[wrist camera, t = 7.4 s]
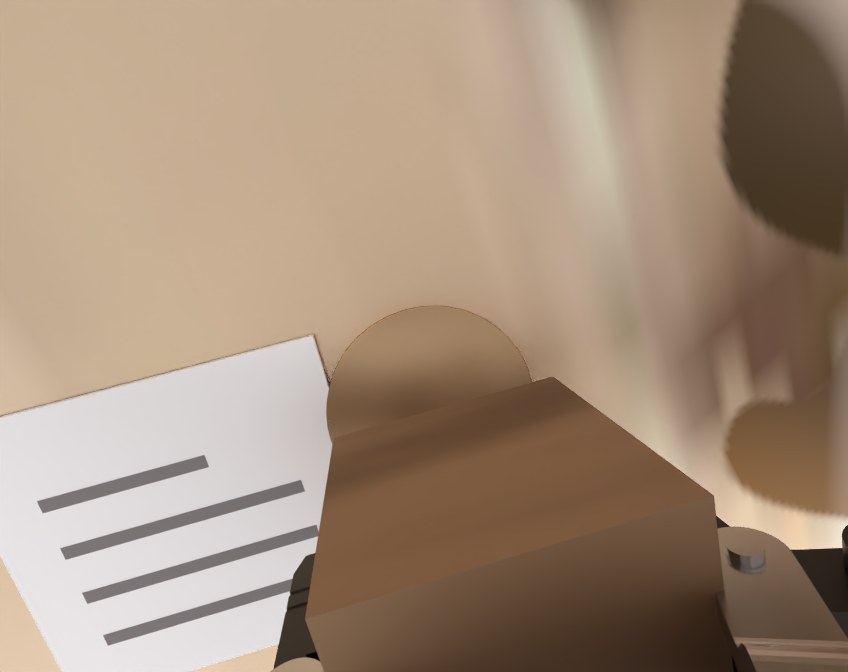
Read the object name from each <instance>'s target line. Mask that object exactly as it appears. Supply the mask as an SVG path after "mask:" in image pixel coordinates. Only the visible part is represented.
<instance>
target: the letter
mask: <svg viewBox="0 0 848 672" xmlns="http://www.w3.org/2000/svg"><path fill="white" fill-rule="evenodd" d="M328 391H329V383H328V380H327V377H326V374H325V370H324V367H323V364H322V361H321V357H320V354H319V351H318V348H317V344H316V341H315V338H314V335H313V334H311V335H308V336H304V337H300V338H296V339H292V340H289V341H285V342H281V343H277V344H273V345H270V346H266V347H262V348H258V349H254V350H251V351H247V352H243V353H239V354H236V355H232V356H228V357H224V358H220V359H217V360H213V361H209V362H205V363H201V364H198V365H194V366H190V367H186V368H182V369H179V370H175V371H171V372H167V373H163V374H160V375H156V376H152V377H148V378H144V379H141V380H137V381H133V382H129V383H125V384H122V385H118V386H114V387H110V388H106V389H103V390H99V391H95V392H91V393H87V394H84V395H80V396H76V397H72V398H68V399H65V400H61V401H57V402H53V403H49V404H46V405H42V406H38V407H34V408H30V409H27V410H23V411H19V412H15V413H11V414H8V415H4V416H0V556H1V558H2V560H3V562H4V564H5V566H6V568H7V570H8V572H9V573H10V575H11V577H12V579H13V581H14V583H15V585H16V587H17V589H18V590H19V592H20V594H21V596H22V598H23V600H24V602H25V604H26V605H27V607H28V609H29V611H30V613H31V615H32V617H33V619H34V621H35V622H36V624H37V626H38V628H39V630H40V632H41V634H42V636H43V638H44V639H45V641H46V643H47V645H48V647H49V649H50V651H51V653H52V655H53V656H54V658H55V660H56V662H57V664H58V666H59V668H60V670H61V671H62V672H190V671H194V670H197V669H200V668H203V667H207V666H210V665H213V664H216V663H220V662H223V661H226V660H229V659H233V658H236V657H239V656H242V655H246V654H249V653H252V652H255V651H259V650H262V649H265V648H268V647H272V646H275V645H278V644H279V641H280V636H281V631H282V627H283V622H284V617H285V612H287V603H288V598H289V596H290V589H291V584H292V579H293V575H294V573H295V571H296V570H297V568H298V567H299V565H300V564H301V562H302V561H303V559H304V558H305V556H307V555H310V554H313V553H316V546H317V540H318V533H319V527H320V521H321V514H322V508H323V502H324V495H325V489H326V483H327V476H328V470H329V464H330V457H331V451H332V443H333V442H331V440H330V436H329V432H328V427H327V418H326V406H327V396H328ZM327 408H328V407H327ZM328 424H329V423H328ZM329 426H330V425H329Z"/></svg>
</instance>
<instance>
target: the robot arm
mask: <svg viewBox="0 0 848 672" xmlns="http://www.w3.org/2000/svg"><path fill="white" fill-rule="evenodd" d="M716 520H717V529H718V538H719V547H720V556H721V565H722V574H723V582H724V590H723V591H719V592H716V602H717V610H718V619H719V622H720V624H721V627H722V630H723V632H724V635H725V638H726V640H727V643H728V646H729V649H730V651H731V654H732V662H733V671H734V672H848V525H847V526H846V527H845V528H844V530H843V533H842V546H843V548H831V549H809V550H790V549H789V548H788V547H787V546H786V545H785V544H784V543H783V542H781V541H780V540H778V539H777V538H775V537H773V536H771V535H769V534H767V533H764V532H762V531H758V530H755V529H750V528H744V527H730V526H728V525H727V524H726V523H725V522H723V521H722V520H721V519H720V518H718V517H717V516H716ZM314 559H315V553H313V554H310V555H307V556H305V558H304V559H303V561H302V562H301V564H300V565H299V567H298V568H297V570H296V571H295V573H294V575H293V579H292V584H291V589H290V596H289V598H288V603H287V612H285V617H284V622H283V627H282V631H281V636H280V641H279V646H278V650H277V655H276V660H275V664H274V669H273V670H272V671H271V672H324V670H323V668H322V665H321V662H320V659H319V657H318V654H317V651H316V648H315V645H314V643H313V640H312V637H311V634H310V632H309V629H308V626H307V623H306V621H305V616H306V610H307V603H308V597H309V591H310V584H311V578H312V572H313V565H314Z"/></svg>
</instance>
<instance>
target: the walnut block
mask: <svg viewBox="0 0 848 672" xmlns="http://www.w3.org/2000/svg"><path fill="white" fill-rule="evenodd" d="M723 590H724V582H723V574H722V565H721V556H720V547H719V538H718V529H717V520H716V511H715V503H714V495H712V494H711V493H710V492H708V491H707V490H705V489H704V488H703V487H701V486H700V485H699V484H697V483H696V482H695V481H693V480H692V479H691V478H689V477H688V476H687V475H685V474H684V473H682V472H681V471H680V470H678V469H677V468H676V467H674V466H673V465H672V464H670V463H669V462H668V461H666V460H665V459H664V458H662V457H661V456H659V455H658V454H657V453H655V452H654V451H653V450H651V449H650V448H649V447H647V446H646V445H645V444H643V443H642V442H641V441H639V440H638V439H636V438H635V437H634V436H632V435H631V434H630V433H628V432H627V431H626V430H624V429H623V428H622V427H620V426H619V425H617V424H616V423H615V422H613V421H612V420H611V419H609V418H608V417H607V416H605V415H604V414H603V413H601V412H600V411H599V410H597V409H596V408H594V407H593V406H592V405H590V404H589V403H588V402H586V401H585V400H584V399H582V398H581V397H580V396H578V395H577V394H576V393H574V392H573V391H571V390H570V389H569V388H567V387H566V386H565V385H563V384H562V383H561V382H559V381H558V380H557V379H555V378H554V377H550V378H547V379H543V380H540V381H536V382H532V383H529V384H525V385H522V386H518V387H514V388H511V389H507V390H504V391H500V392H496V393H493V394H489V395H486V396H482V397H478V398H475V399H471V400H467V401H464V402H460V403H457V404H453V405H449V406H446V407H442V408H439V409H435V410H431V411H428V412H424V413H421V414H417V415H413V416H410V417H406V418H403V419H399V420H395V421H392V422H388V423H385V424H381V425H377V426H374V427H370V428H367V429H363V430H359V431H356V432H352V433H349V434H345V435H341V436H338V437H334V438H333V444H332V451H331V457H330V464H329V470H328V476H327V483H326V489H325V495H324V502H323V508H322V514H321V521H320V527H319V533H318V540H317V546H316V553H315V559H314V565H313V572H312V578H311V584H310V591H309V597H308V603H307V610H306V616H305V621H306V623H307V626H308V629H309V632H310V634H311V637H312V640H313V643H314V645H315V648H316V651H317V654H318V657H319V659H320V662H321V665H322V668H323V670H324V672H734V671H733V662H732V654H731V651H730V649H729V646H728V643H727V640H726V638H725V635H724V632H723V630H722V627H721V624H720V622H719V619H718V610H717V602H716V592H719V591H723Z"/></svg>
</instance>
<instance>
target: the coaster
mask: <svg viewBox="0 0 848 672" xmlns="http://www.w3.org/2000/svg"><path fill="white" fill-rule="evenodd" d="M529 383H532V381H531V377H530V374H529V370H528V368H527V366H526V363H525V361H524V359H523V357H522V355H521V354H520V352H519V350H518V349H517V347H516V346H515V345H514V344H513V343H512V341H511V340H510V339H509V338H508V337H507V336H506V335H505V334H504V333H503V332H502V331H501V330H500V329H498V328H497V327H495V326H494V325H493V324H491V323H490V322H488V321H487V320H485V319H483V318H481V317H479V316H477V315H475V314H473V313H470V312H467V311H464V310H461V309H456V308H451V307H443V306H425V307H417V308H412V309H406V310H403V311H400V312H397V313H394V314H392V315H390V316H388V317H386V318H384V319H382V320H380V321H378V322H377V323H375V324H374V325H372V326H371V327H369V328H368V329H367V330H365V331H364V332H363V333H362V334H361V335H360V336H358V337H357V338H356V339H355V341H354V342H353V343H352V344H351V345H350V346H349V347H348V349H347V350H346V352H345V353H344V355H343V356H342V358H341V359H340V361H339V363H338V365H337V367H336V369H335V371H334V374H333V377H332V380H331V382H330V386H329V391H328V396H327V406H326V418H327V427H328V432H329V436H330V440H331V442H333V438H334V437H338V436H341V435H345V434H349V433H352V432H356V431H359V430H363V429H367V428H370V427H374V426H377V425H381V424H385V423H388V422H392V421H395V420H399V419H403V418H406V417H410V416H413V415H417V414H421V413H424V412H428V411H431V410H435V409H439V408H442V407H446V406H449V405H453V404H457V403H460V402H464V401H467V400H471V399H475V398H478V397H482V396H486V395H489V394H493V393H496V392H500V391H504V390H507V389H511V388H514V387H518V386H522V385H525V384H529ZM327 407H328V408H327ZM328 423H329V424H328ZM329 425H330V426H329ZM332 444H333V443H332Z"/></svg>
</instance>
